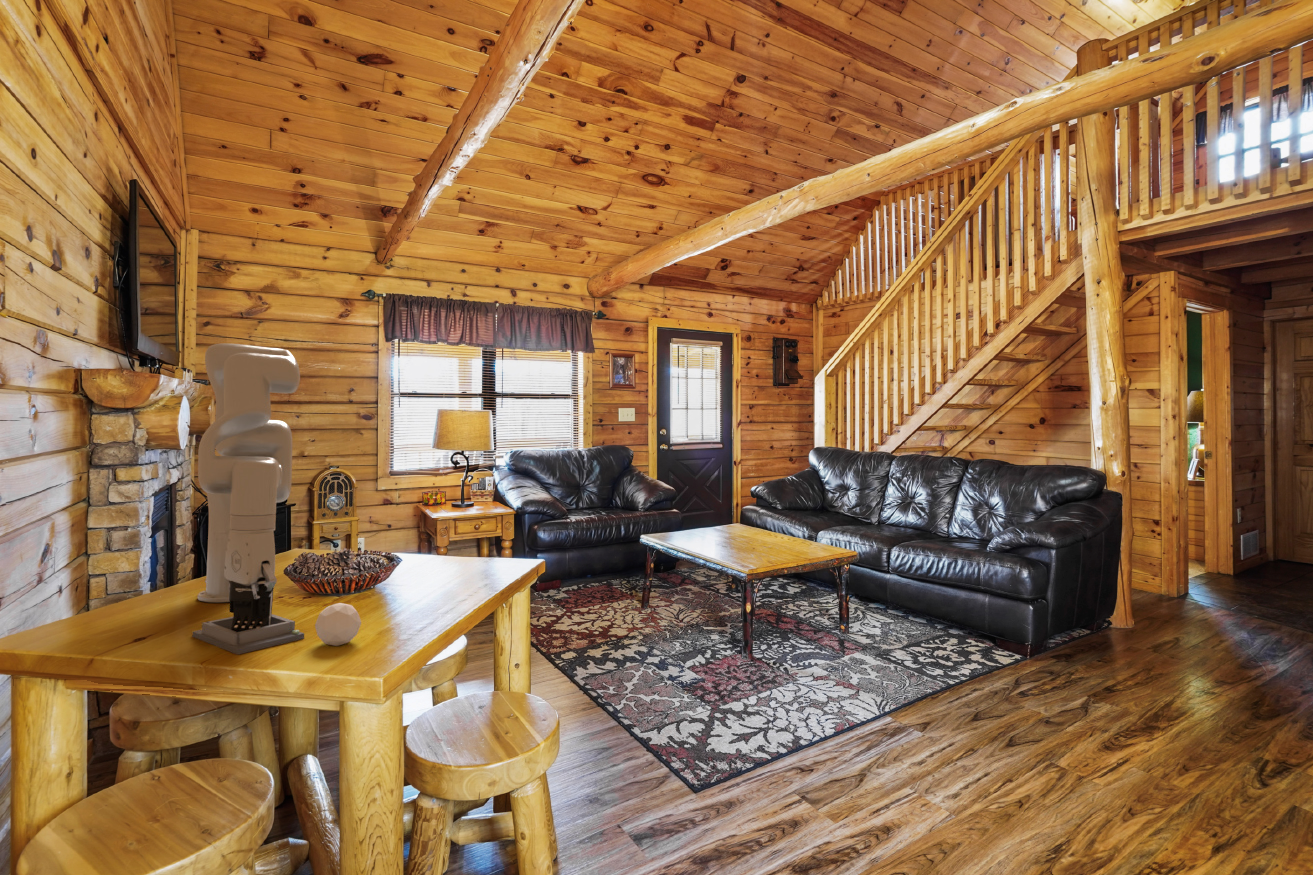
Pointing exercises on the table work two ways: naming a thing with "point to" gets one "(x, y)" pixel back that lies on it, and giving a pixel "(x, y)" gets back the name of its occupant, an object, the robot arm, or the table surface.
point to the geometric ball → (338, 624)
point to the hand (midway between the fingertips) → (249, 614)
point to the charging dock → (248, 635)
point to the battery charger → (245, 607)
